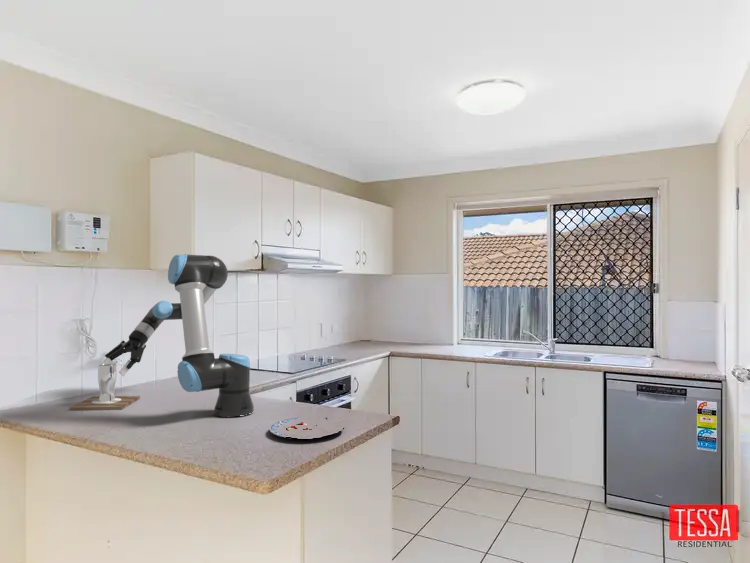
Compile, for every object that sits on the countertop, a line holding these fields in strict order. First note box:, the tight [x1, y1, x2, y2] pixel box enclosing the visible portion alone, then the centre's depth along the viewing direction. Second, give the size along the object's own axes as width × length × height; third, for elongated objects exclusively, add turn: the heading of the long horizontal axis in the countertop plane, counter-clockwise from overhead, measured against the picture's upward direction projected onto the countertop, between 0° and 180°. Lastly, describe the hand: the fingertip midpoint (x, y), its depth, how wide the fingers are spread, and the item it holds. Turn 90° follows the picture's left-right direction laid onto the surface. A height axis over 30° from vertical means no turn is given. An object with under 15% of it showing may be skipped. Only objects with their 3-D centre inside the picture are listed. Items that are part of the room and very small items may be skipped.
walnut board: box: [68, 395, 141, 411], centre depth 212 cm, size 20×20×2 cm
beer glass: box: [97, 363, 117, 402], centre depth 212 cm, size 7×7×15 cm
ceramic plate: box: [269, 416, 317, 438], centre depth 174 cm, size 26×26×3 cm
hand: (110, 373), depth 215 cm, fingers open, 13 cm apart
